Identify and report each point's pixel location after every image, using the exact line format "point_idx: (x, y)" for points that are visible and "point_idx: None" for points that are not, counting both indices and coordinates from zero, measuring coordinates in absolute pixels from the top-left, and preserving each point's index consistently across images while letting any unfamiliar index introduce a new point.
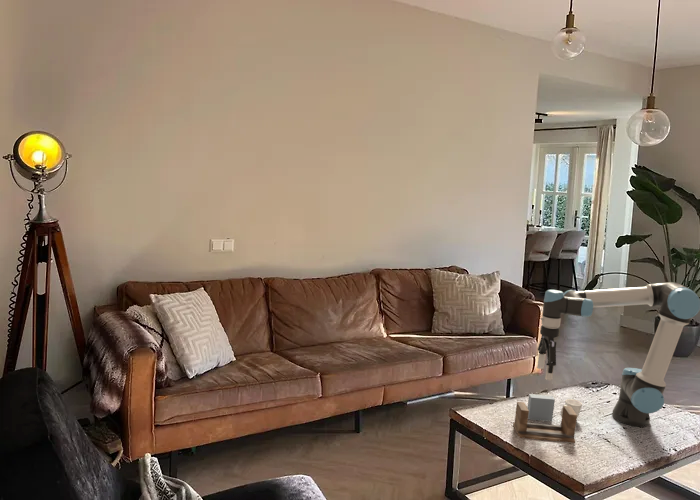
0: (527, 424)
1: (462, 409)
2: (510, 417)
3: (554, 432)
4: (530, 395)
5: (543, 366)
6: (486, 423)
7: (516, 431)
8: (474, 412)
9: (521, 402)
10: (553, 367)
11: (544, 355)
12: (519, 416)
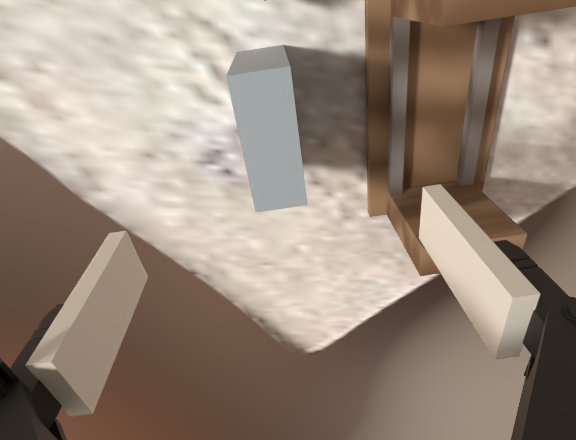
0: (402, 175)
1: (292, 340)
2: (303, 218)
3: (440, 56)
4: (277, 206)
5: (119, 251)
6: (378, 284)
7: None
8: (302, 314)
9: (426, 259)
10: (518, 274)
11: (63, 360)
12: None
